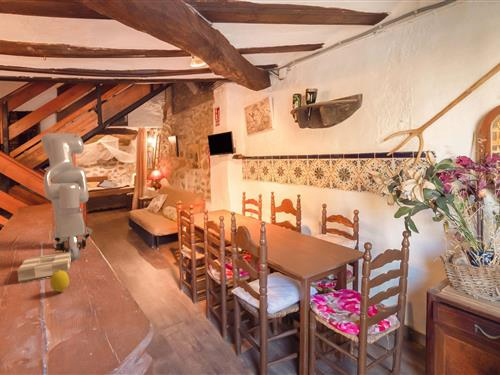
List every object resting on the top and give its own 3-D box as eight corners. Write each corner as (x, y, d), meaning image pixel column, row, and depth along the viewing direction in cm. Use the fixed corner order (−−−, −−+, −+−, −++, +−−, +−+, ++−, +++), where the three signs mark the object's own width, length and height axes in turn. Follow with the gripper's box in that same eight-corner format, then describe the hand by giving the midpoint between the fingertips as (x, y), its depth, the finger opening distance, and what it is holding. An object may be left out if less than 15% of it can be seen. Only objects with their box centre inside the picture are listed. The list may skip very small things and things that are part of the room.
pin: (69, 259, 138) (67, 233, 137) (79, 257, 140) (77, 232, 139) (69, 261, 135) (66, 235, 133) (79, 260, 136) (77, 234, 135)
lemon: (66, 287, 107) (64, 265, 107) (72, 291, 104) (70, 269, 103) (48, 293, 103) (46, 270, 102) (54, 297, 100) (52, 274, 99)
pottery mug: (55, 261, 138) (50, 244, 140) (62, 263, 146) (57, 247, 148) (83, 250, 142) (78, 234, 144) (88, 253, 151) (83, 238, 153)
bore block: (27, 269, 126) (26, 258, 126) (71, 262, 133) (70, 251, 133) (18, 283, 112) (17, 270, 111) (68, 274, 119) (67, 262, 119)
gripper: (92, 208, 142) (95, 244, 144) (48, 212, 134) (52, 250, 136) (92, 210, 136) (95, 248, 137) (46, 215, 128) (50, 255, 130)
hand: (73, 249), depth 137 cm, fingers open, 7 cm apart
